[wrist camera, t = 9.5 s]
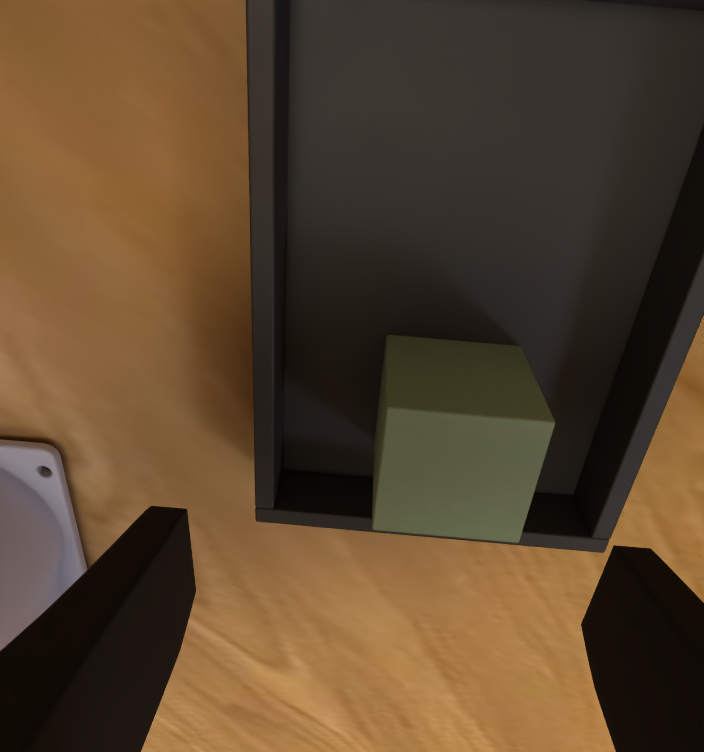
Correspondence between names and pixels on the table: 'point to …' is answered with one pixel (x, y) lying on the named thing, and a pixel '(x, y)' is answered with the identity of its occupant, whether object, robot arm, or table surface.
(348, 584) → the table surface
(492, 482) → the sage block
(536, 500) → the tray
